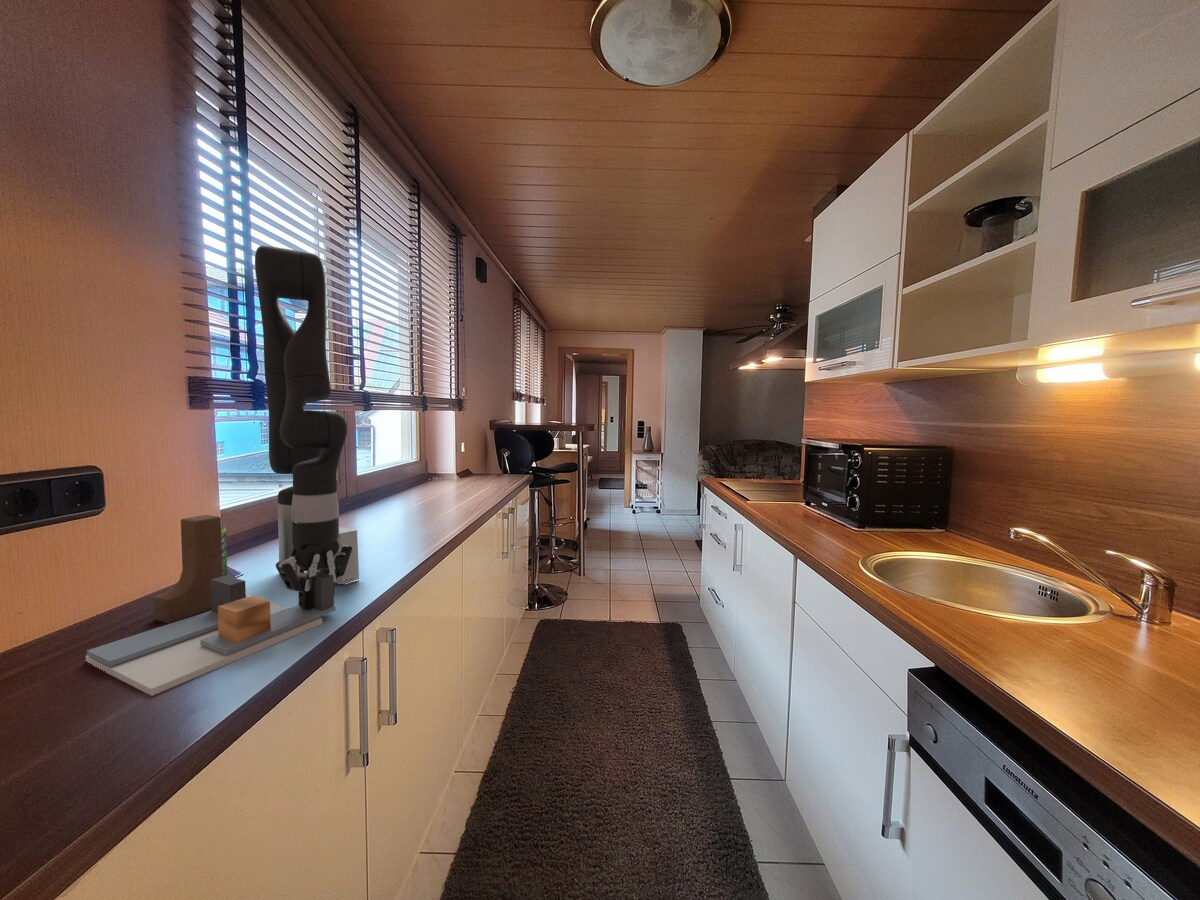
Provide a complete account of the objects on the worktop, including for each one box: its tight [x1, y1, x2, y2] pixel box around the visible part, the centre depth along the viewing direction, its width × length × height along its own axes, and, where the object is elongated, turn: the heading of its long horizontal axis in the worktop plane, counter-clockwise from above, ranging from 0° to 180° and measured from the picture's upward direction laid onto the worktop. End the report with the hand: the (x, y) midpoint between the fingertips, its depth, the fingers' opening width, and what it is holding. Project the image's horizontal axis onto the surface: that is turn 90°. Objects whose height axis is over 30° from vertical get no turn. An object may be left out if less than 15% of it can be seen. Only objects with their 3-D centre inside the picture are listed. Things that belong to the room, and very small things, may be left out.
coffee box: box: [221, 526, 228, 576], centre depth 95 cm, size 8×3×13 cm, turn 28°
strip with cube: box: [200, 571, 337, 655], centre depth 78 cm, size 18×7×7 cm, turn 157°
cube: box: [218, 595, 271, 643], centre depth 74 cm, size 5×5×5 cm
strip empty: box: [86, 575, 247, 667], centre depth 74 cm, size 18×7×7 cm, turn 157°
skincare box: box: [333, 526, 360, 585], centre depth 103 cm, size 6×4×12 cm
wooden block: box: [152, 514, 223, 625], centre depth 85 cm, size 9×4×18 cm, turn 160°
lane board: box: [85, 602, 323, 697], centre depth 75 cm, size 24×19×1 cm
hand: (317, 604), depth 86 cm, fingers open, 3 cm apart
